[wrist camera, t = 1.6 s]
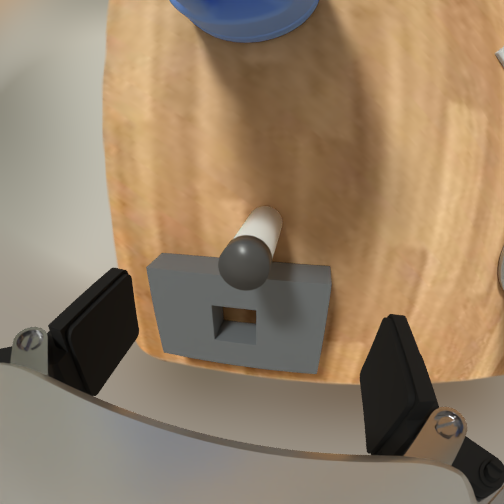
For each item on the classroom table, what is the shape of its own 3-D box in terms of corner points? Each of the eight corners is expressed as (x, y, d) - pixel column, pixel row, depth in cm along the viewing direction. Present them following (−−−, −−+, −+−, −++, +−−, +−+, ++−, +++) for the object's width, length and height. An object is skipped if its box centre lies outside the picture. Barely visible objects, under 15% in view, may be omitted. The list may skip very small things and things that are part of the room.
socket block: (330, 266, 36) (331, 284, 32) (317, 352, 41) (316, 373, 37) (162, 252, 40) (146, 267, 36) (175, 334, 45) (163, 352, 41)
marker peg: (290, 217, 34) (279, 262, 24) (271, 245, 36) (252, 299, 25) (259, 198, 34) (232, 234, 23) (241, 227, 36) (210, 273, 25)
